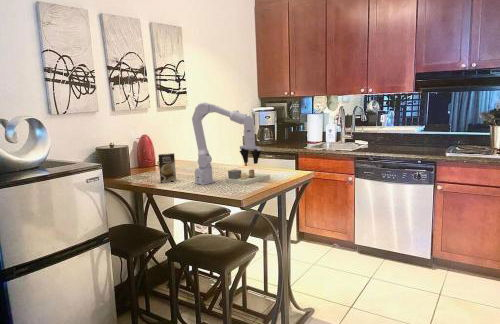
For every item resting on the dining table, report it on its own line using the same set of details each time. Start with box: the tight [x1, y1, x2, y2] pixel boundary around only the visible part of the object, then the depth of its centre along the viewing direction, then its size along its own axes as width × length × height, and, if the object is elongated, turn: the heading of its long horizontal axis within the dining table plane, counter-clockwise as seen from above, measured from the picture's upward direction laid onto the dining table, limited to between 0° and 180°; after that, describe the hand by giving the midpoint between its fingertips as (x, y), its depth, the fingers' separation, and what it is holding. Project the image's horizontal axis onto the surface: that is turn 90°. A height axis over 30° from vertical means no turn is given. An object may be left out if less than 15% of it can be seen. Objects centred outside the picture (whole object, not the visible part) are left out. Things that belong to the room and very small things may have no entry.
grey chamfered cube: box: [227, 169, 242, 179], centre depth 208 cm, size 5×5×4 cm
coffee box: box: [158, 153, 177, 183], centre depth 219 cm, size 9×6×16 cm
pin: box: [248, 169, 255, 178], centre depth 208 cm, size 3×3×6 cm
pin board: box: [225, 172, 271, 186], centre depth 210 cm, size 20×15×5 cm
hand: (250, 163), depth 207 cm, fingers open, 7 cm apart
